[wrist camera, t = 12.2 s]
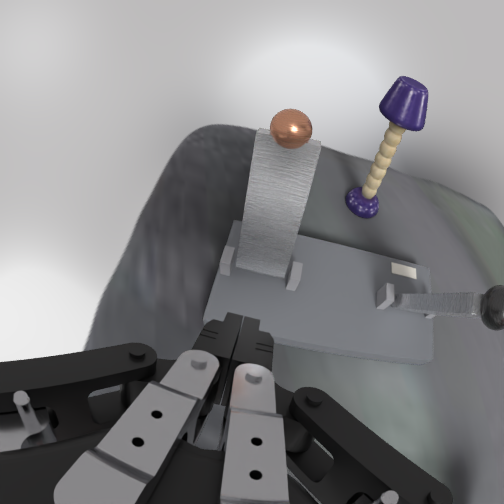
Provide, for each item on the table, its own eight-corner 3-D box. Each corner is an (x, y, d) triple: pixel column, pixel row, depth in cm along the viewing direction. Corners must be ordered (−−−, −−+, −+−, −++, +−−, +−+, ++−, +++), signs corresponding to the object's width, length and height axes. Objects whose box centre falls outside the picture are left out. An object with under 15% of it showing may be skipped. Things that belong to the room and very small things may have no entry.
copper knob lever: (282, 288, 23) (328, 121, 14) (233, 276, 23) (259, 106, 15) (285, 267, 25) (326, 113, 16) (239, 256, 25) (265, 100, 17)
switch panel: (421, 365, 23) (446, 355, 19) (204, 325, 24) (200, 310, 20) (419, 276, 28) (439, 258, 24) (233, 231, 29) (234, 206, 25)
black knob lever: (421, 320, 23) (525, 334, 10) (387, 314, 23) (489, 328, 10) (426, 293, 23) (531, 289, 10) (392, 286, 23) (497, 277, 10)
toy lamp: (338, 208, 32) (393, 80, 17) (344, 183, 34) (390, 65, 20) (375, 223, 31) (444, 105, 17) (378, 197, 33) (435, 86, 19)
